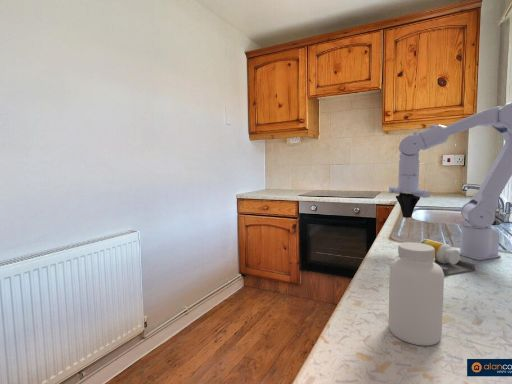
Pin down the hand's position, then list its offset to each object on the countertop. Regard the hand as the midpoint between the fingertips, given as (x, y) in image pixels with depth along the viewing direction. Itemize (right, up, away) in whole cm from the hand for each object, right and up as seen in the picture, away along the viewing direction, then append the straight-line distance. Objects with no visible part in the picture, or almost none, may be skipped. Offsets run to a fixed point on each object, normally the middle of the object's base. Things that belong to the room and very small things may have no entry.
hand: (407, 217), depth 96 cm
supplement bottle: (+1, -8, -8) cm, 11 cm away
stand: (+2, -12, -14) cm, 19 cm away
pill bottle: (-22, -16, -45) cm, 53 cm away
